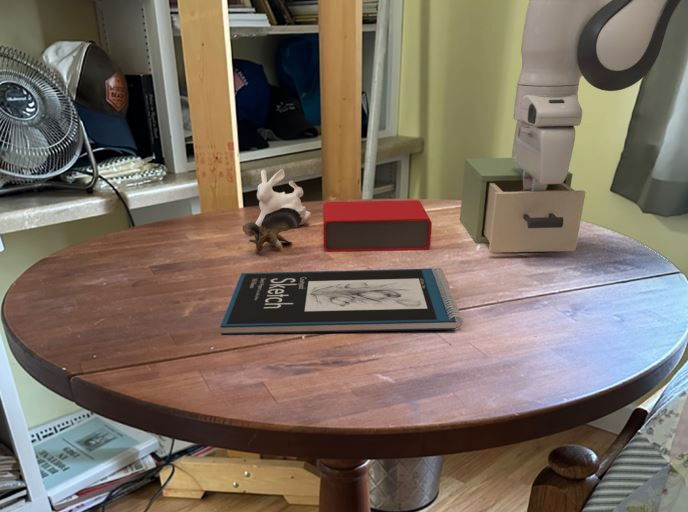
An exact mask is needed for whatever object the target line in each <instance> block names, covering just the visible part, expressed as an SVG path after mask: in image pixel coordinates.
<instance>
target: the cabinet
mask: <svg viewBox="0 0 688 512" xmlns="http://www.w3.org/2000/svg"><path fill="white" fill-rule="evenodd" d="M463 169H464V170H463V177H462V190H461V201H460V202H461V204H460V214H459V220H460V222H461V223H462V225H463V226H464V229H466V231H467V233H468V234H469V236H470V238H471V239H472V240H473V242H474V243H475V244H490V242H489V241H488V239H487V238H486V236H485V235H484V234H483V232H482V225H483V215H484V205H485V195H486V185H487V181H523V169H521V168H520V167H519V166H517V165H516V164H515V163H513V161H512V157H479V158H478V157H477V158H473V157H472V158H465V159H464V167H463ZM572 180H573V173H572V172H570V171H568V173H567V176H566V178H565V180H564V182H563V183H565V184H566V185H568V186H569V187H571V188H572V182H573V181H572Z"/></svg>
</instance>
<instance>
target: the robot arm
mask: <svg viewBox="0 0 688 512" xmlns="http://www.w3.org/2000/svg"><path fill="white" fill-rule="evenodd" d="M681 2H682V0H529V1H528V4H527V8H526V13H525V19H524V24H523V30H522V37H521V45H520V46H521V47H520V55H521V70H520V72H519V76H518V78H517V82H516V89H515V99H514V109H513V116H512V118H513V120H515V121H516V125H515V129H514V136H513V137H514V138H513V143H512V148H511V149H512V150H511V158H512V161H513V163H515V164H516V165H517V166H519V167H520V168H521V169H523V188H524V189H523V191H546V188H547V186H548V184H561V183H563V182H564V180H565V178H566V176H567V173H568V172H569V169H570V164H571V160H572V156H573V152H574V151H573V150H574V146H575V141H576V140H575V139H576V128H575V127H578V126H580V125H581V124H582V120H583V119H582V118H583V109H582V107H581V104H580V102H579V94H578V93H579V86H580V80H581V78H582V77H583V78H584V79H585V81H586V82H587V83H588V84H589V85H591V86H592V87H594V88H595V89H598V90H600V91H605V92H617V91H622V90H625V89H628V88H631V86H634V85H635V84H637V83H638V82H639V81H641V80H642V79H644V77H645V76H646V75H647V74H648V73H649V72H650V71H651V69H652V68H653V67H654V65H655V63H656V62H657V59H658V58H659V55H660V52H661V50H662V47H663V43H664V39H665V36H666V32H667V29H668V26H669V23H670V20H671V18H672V16H673V15H674V13H675V11H676V10H677V8H678V6H679V5H680V3H681Z"/></svg>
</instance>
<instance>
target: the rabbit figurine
mask: <svg viewBox="0 0 688 512" xmlns="http://www.w3.org/2000/svg"><path fill="white" fill-rule="evenodd" d="M260 171H261V172H260V178H261V183H259V184H258V185H257V192H256V198H257V200H258V201H259V203H258V207H259V209H260V213H259V215H258V218H257V219H256V221H255V222H254V223H255V224H256V225H258V226H260V227H261V223H262V221H263V219H264V217H265V215H266V214H268V213H272V212H273V211H276V210H279V209H280V208H284V207H285V208H292V209H295V210H296V211H298V213H299V214H300V217H301V218H302V220H301V223H300V224H299V225H300V226H303V225H304V224H306V223H308V222H309V221H310V219H311V216H312V213H311V212H310V211H309V210H307V208H306V206H305V205H303V204H302V200H301V197H303V196H304V190H303V188H302V187H301V186H298V185H297V184H296V183H295V182H294V181H293V180H290V181H289V182H288V185H289V186H290V187H292V188H293V191H292V192H291V193H286V191H282V192H277V191H274V190H273V186H274V185H276V184H277V183H279V182H280V181H282V180H283V179H284V178H285V175H286V174H285V170H284V169H283V168H281V169H279V170H278V171H277V172H275V173H274V174H273V175H272V176H271V178H270V179H269V180H268V177H267V174H268V172H267V170H266V169H262V170H260Z"/></svg>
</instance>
